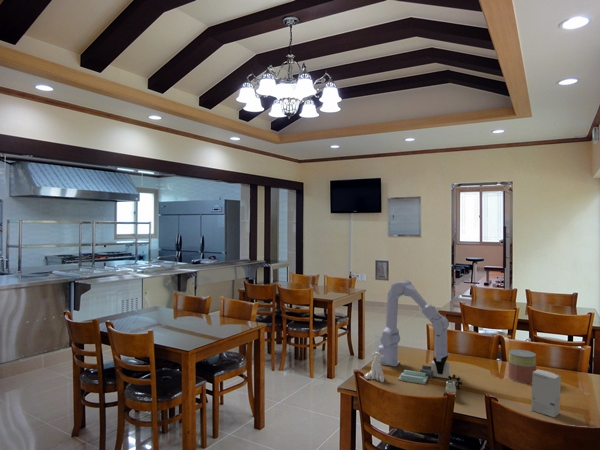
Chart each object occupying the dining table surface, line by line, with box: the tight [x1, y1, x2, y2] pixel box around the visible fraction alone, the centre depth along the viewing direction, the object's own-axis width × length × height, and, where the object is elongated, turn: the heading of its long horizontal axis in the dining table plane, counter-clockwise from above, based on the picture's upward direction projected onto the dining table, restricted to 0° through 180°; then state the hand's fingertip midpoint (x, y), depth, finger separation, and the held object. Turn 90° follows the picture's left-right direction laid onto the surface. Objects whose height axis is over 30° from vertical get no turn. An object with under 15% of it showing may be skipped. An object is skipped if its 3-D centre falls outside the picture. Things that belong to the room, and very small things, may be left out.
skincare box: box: [530, 368, 562, 418], centre depth 156 cm, size 8×6×15 cm
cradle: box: [397, 369, 429, 385], centre depth 190 cm, size 12×8×2 cm, turn 63°
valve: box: [444, 374, 463, 394], centre depth 172 cm, size 7×7×12 cm
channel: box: [419, 364, 434, 379], centre depth 196 cm, size 6×7×3 cm
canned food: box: [508, 349, 537, 385], centre depth 189 cm, size 11×11×12 cm
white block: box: [430, 360, 451, 380], centre depth 193 cm, size 8×4×6 cm, turn 63°
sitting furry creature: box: [363, 351, 385, 383], centre depth 192 cm, size 10×9×12 cm
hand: (440, 372), depth 193 cm, fingers closed on white block, 4 cm apart
